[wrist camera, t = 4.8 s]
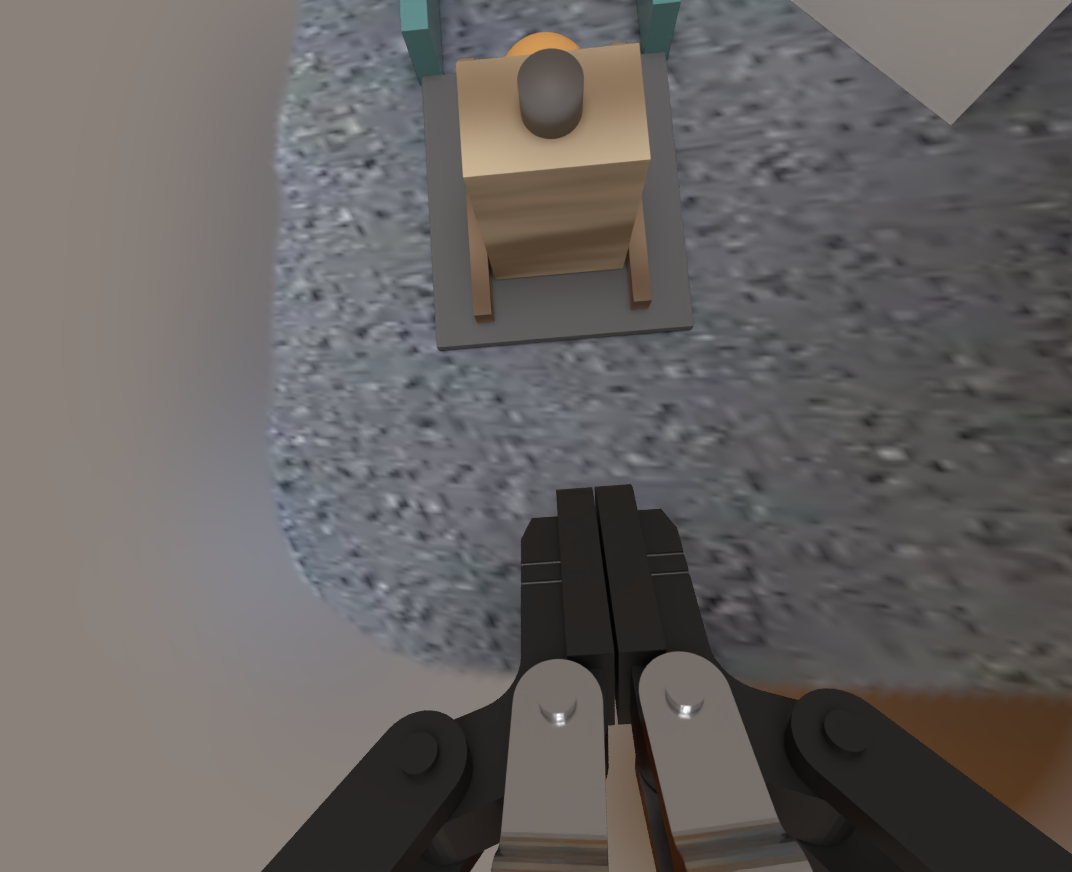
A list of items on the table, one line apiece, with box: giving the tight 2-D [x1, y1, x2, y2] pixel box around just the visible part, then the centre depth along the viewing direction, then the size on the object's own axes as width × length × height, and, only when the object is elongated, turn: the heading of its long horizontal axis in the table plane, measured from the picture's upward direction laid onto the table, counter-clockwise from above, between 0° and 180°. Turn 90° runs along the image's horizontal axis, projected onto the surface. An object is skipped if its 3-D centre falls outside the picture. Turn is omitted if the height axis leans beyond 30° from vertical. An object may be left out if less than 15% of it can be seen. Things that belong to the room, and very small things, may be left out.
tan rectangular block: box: [456, 43, 651, 280], centre depth 23 cm, size 4×6×10 cm, turn 94°
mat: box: [422, 52, 693, 351], centre depth 29 cm, size 14×12×1 cm
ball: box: [505, 32, 580, 57], centre depth 26 cm, size 4×4×4 cm
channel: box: [458, 42, 652, 323], centre depth 28 cm, size 12×8×1 cm, turn 4°
